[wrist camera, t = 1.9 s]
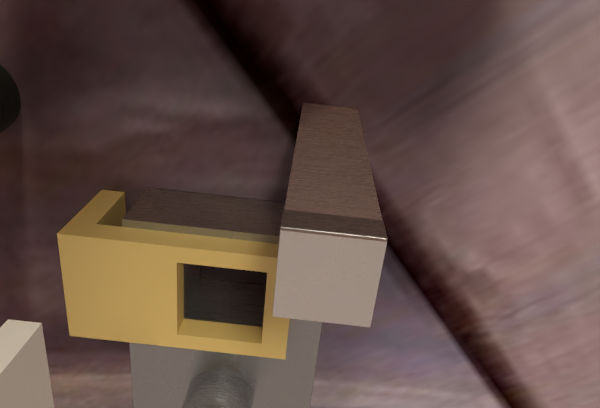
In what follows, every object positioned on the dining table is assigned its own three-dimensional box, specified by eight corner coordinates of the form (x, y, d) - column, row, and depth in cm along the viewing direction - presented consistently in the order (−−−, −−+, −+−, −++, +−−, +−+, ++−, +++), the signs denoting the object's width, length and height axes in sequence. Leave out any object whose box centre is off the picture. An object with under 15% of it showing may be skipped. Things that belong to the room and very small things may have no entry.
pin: (302, 101, 29) (279, 229, 15) (357, 108, 29) (387, 241, 15) (297, 153, 31) (271, 316, 16) (349, 159, 31) (370, 328, 16)
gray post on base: (147, 187, 32) (-35, 409, 16) (332, 207, 32) (339, 451, 16) (153, 365, 39) (27, 653, 22) (308, 382, 39) (295, 683, 22)
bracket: (102, 189, 32) (56, 233, 27) (301, 211, 32) (296, 259, 27) (108, 279, 35) (69, 335, 30) (291, 299, 35) (285, 359, 30)
